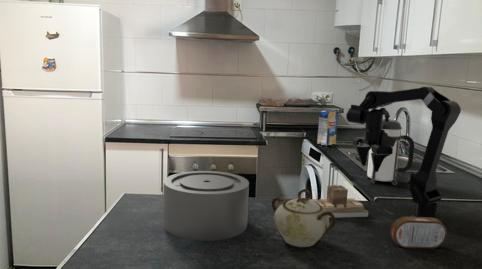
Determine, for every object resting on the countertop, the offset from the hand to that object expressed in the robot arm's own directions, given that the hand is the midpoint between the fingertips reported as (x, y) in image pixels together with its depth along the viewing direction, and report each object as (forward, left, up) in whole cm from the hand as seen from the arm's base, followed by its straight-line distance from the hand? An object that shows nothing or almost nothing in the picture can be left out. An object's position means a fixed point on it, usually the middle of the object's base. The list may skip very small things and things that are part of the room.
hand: (369, 168), depth 153 cm
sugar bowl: (-32, +37, -13) cm, 51 cm away
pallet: (-11, +17, -11) cm, 23 cm away
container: (-17, +62, -13) cm, 65 cm away
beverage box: (+111, -30, -13) cm, 115 cm away
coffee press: (+27, -22, -13) cm, 37 cm away
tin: (-39, +5, -13) cm, 41 cm away
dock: (-11, +17, -12) cm, 24 cm away
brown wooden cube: (-11, +17, -9) cm, 22 cm away
